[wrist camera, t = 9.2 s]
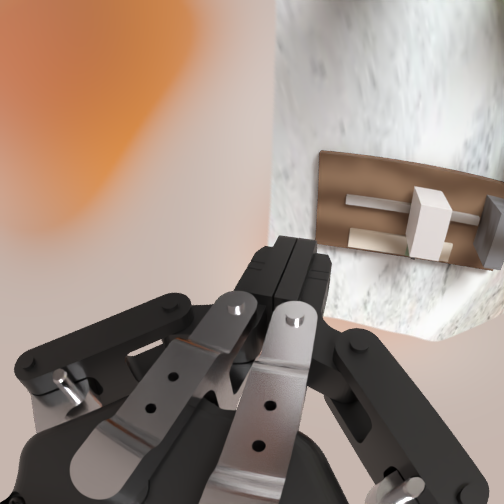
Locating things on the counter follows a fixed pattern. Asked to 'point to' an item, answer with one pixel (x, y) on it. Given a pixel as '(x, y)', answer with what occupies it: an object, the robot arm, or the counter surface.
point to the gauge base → (407, 208)
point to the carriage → (427, 223)
